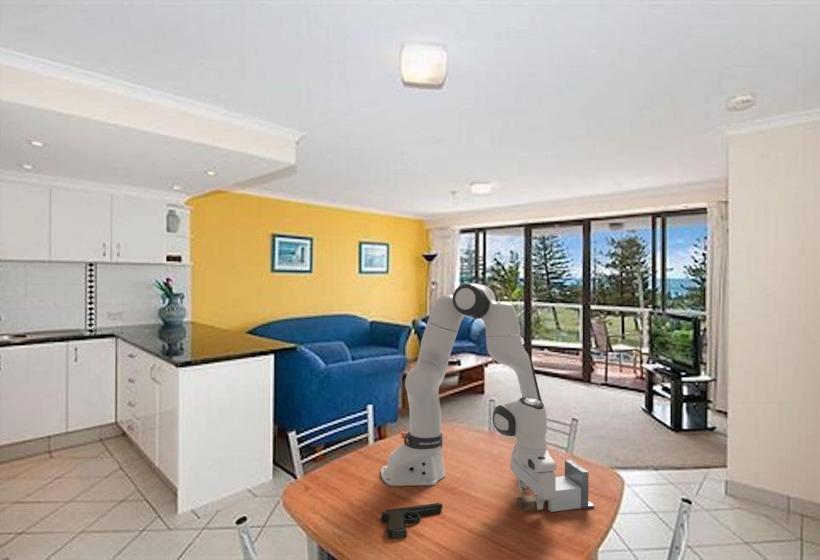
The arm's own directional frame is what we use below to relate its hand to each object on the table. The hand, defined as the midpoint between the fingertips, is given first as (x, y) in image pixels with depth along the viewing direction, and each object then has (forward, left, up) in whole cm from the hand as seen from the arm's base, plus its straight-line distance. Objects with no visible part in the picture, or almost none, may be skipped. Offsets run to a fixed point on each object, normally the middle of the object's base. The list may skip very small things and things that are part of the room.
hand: (530, 500), depth 129 cm
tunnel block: (+9, 0, -2) cm, 10 cm away
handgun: (-35, 0, -3) cm, 35 cm away
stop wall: (+15, 0, -2) cm, 15 cm away
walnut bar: (+3, 0, -2) cm, 4 cm away
